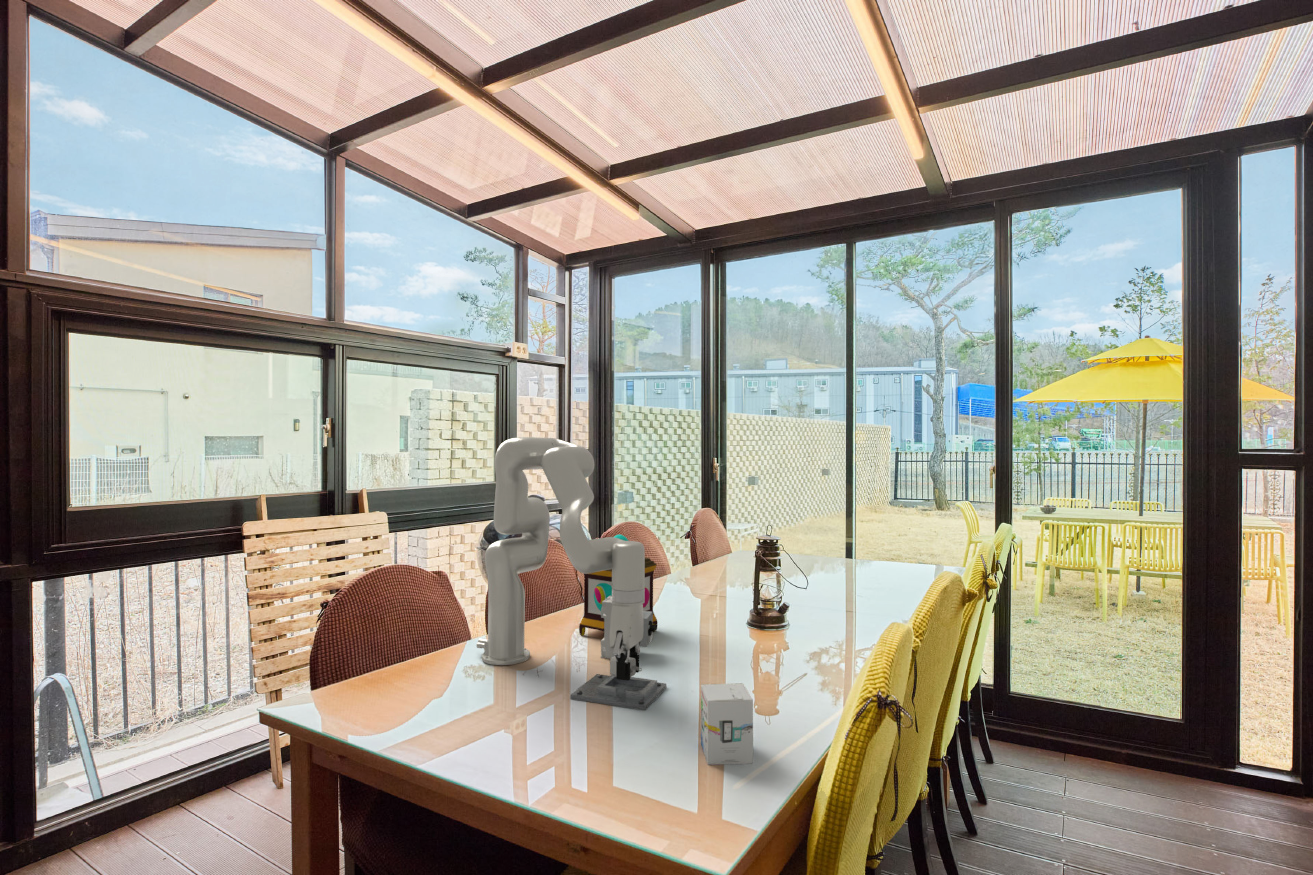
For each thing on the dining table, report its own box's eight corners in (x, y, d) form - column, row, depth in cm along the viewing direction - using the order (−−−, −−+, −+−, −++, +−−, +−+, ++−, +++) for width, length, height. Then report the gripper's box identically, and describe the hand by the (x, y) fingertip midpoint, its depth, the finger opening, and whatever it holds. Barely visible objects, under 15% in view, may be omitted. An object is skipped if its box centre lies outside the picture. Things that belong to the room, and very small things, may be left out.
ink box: (699, 743, 126) (700, 682, 126) (743, 742, 126) (743, 681, 126) (707, 765, 117) (707, 700, 117) (753, 763, 118) (754, 698, 118)
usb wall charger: (621, 670, 154) (621, 653, 154) (644, 677, 149) (644, 659, 149) (609, 675, 151) (610, 657, 151) (632, 682, 146) (632, 664, 146)
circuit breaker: (652, 661, 173) (653, 604, 173) (600, 657, 176) (601, 601, 176) (658, 652, 180) (658, 598, 180) (608, 649, 183) (608, 595, 183)
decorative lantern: (664, 630, 202) (664, 533, 202) (627, 647, 185) (627, 541, 185) (611, 621, 212) (612, 528, 213) (572, 635, 196) (572, 535, 196)
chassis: (570, 698, 147) (570, 687, 147) (596, 677, 160) (597, 667, 160) (645, 710, 141) (645, 698, 141) (666, 687, 154) (666, 677, 154)
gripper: (627, 587, 160) (626, 662, 159) (597, 602, 144) (597, 686, 143) (656, 589, 157) (655, 665, 157) (629, 605, 141) (629, 690, 141)
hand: (628, 674), depth 150 cm, fingers closed on usb wall charger, 4 cm apart
